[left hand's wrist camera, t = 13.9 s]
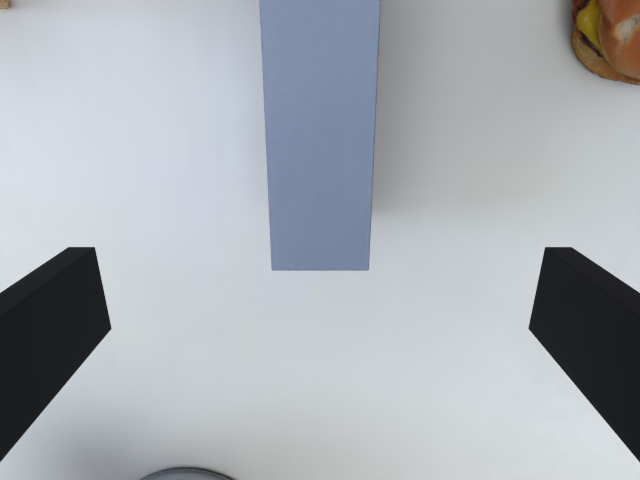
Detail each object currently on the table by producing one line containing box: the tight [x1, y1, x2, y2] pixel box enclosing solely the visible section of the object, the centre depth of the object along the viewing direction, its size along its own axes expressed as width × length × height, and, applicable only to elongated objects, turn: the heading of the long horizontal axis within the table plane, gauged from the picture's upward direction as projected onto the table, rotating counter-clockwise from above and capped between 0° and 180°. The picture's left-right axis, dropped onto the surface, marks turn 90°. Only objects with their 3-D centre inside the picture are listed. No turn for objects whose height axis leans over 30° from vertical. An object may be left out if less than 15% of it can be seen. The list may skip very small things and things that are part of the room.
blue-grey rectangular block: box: [260, 0, 381, 270], centre depth 26 cm, size 16×5×10 cm, turn 0°
